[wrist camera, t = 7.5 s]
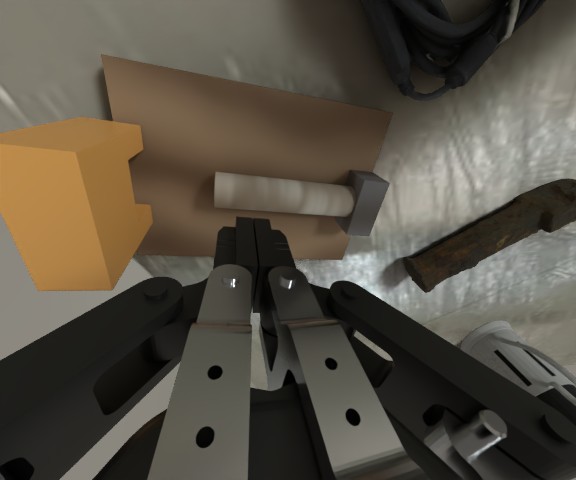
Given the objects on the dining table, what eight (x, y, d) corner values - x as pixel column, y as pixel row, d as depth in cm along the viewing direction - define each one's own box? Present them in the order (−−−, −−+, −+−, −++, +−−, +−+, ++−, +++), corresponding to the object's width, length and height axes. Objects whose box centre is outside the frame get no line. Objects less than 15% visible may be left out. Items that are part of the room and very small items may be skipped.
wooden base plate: (112, 57, 14) (73, 47, 11) (382, 111, 18) (415, 116, 15) (142, 244, 21) (125, 275, 17) (336, 251, 25) (353, 277, 22)
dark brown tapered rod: (405, 276, 30) (431, 304, 26) (398, 254, 27) (425, 282, 24) (558, 197, 27) (611, 215, 24) (564, 167, 25) (623, 182, 21)
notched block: (81, 116, 14) (-34, 139, 8) (140, 125, 15) (75, 152, 9) (106, 219, 17) (37, 290, 11) (152, 222, 18) (112, 290, 12)
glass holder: (460, 359, 44) (549, 466, 32) (459, 316, 36) (577, 436, 24) (506, 339, 44) (615, 441, 31) (516, 292, 36) (667, 402, 23)
